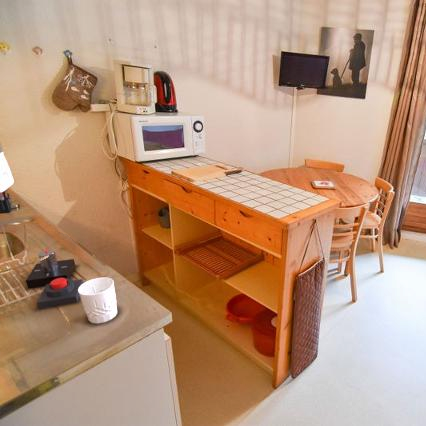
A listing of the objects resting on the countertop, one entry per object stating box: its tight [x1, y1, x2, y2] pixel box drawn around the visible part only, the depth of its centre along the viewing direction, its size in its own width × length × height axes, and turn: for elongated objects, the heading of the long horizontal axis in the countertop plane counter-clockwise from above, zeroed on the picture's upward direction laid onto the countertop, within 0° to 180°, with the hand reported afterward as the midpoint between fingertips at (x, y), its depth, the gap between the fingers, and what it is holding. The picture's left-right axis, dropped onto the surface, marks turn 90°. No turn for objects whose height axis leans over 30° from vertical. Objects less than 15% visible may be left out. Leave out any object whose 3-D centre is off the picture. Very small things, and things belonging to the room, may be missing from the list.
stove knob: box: [37, 248, 59, 272], centre depth 100 cm, size 4×4×6 cm
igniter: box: [36, 278, 84, 310], centre depth 93 cm, size 9×9×4 cm
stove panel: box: [25, 258, 76, 290], centre depth 101 cm, size 10×10×3 cm
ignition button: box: [50, 278, 67, 290], centre depth 92 cm, size 4×4×2 cm
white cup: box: [78, 276, 118, 325], centre depth 86 cm, size 8×8×10 cm
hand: (3, 212), depth 91 cm, fingers closed
